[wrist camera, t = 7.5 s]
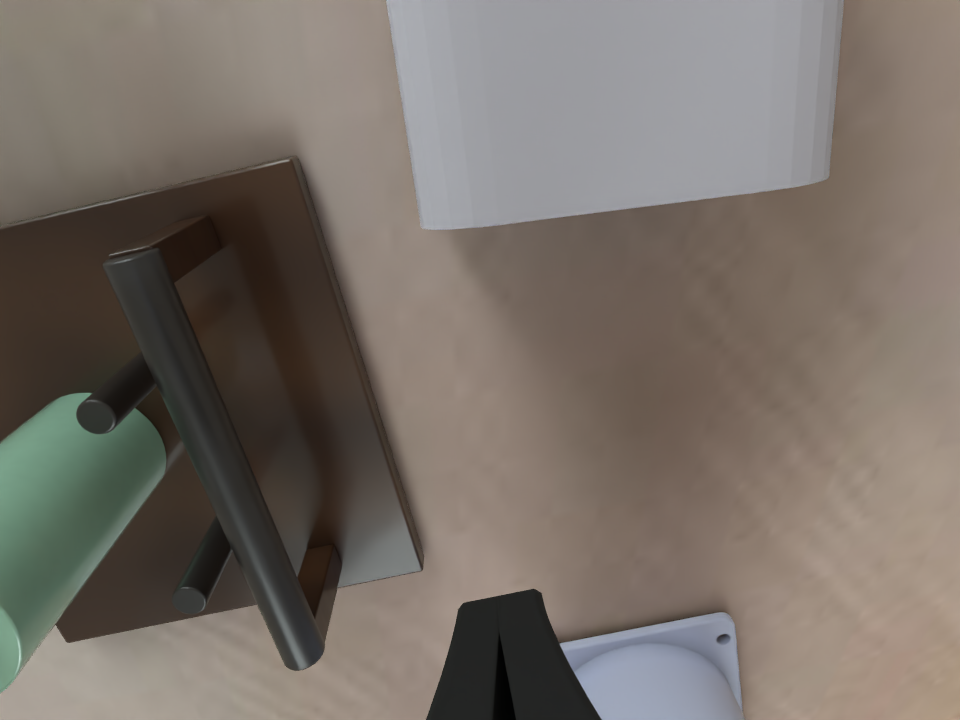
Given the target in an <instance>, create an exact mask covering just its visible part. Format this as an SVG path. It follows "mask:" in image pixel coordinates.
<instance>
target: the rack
mask: <svg viewBox="0 0 960 720" xmlns="http://www.w3.org/2000/svg"><path fill="white" fill-rule="evenodd" d="M76 393H92V394H91V395H90V396H89V397H87V398H86V399H85V400H84V401H83V402H82V403H81V404H80V405H79V406H78V408H77V411H76V418H77V421H78V423H79V424H80V425H81V427H82V428H84V429H85V430H86V431H88V432H90V433H93V434H106V433H109V432H111V431H112V430H114V429H115V428H116V427H117V426H118V425H119V424H120V423H121V422H122V420H123V419H124V418H125V417H126V416H127V415H128V414H129V413H130V412H131V411H132V410H133V409H134V408H136V409H137V410H139V411H140V412H141V413H142V414H143V415H145V416H146V417H147V418H148V419H149V420H150V422H151V423H152V424H153V425H154V426H155V428H156V429H157V431H158V432H159V434H160V436H161V438H162V441H163V443H164V446H165V451H166V469H165V472H164V475H163V478H162V480H161V482H160V483H159V485H158V486H157V487H156V489H155V490H154V492H153V493H152V494H151V496H150V497H149V498H148V500H147V501H146V502H145V504H144V505H143V506H142V508H141V509H140V511H139V512H138V513H137V515H136V516H135V517H134V519H133V520H132V521H131V523H130V524H129V525H128V527H127V528H126V530H125V531H124V532H123V534H122V535H121V536H120V538H119V539H118V540H117V542H116V543H115V544H114V546H113V547H112V549H111V550H110V551H109V553H108V554H107V555H106V557H105V558H104V559H103V561H102V562H101V563H100V565H99V566H98V568H97V569H96V570H95V572H94V573H93V574H92V576H91V577H90V578H89V580H88V581H87V582H86V584H85V585H84V586H83V588H82V589H81V591H80V592H79V593H78V595H77V596H76V597H75V599H74V600H73V601H72V603H71V604H70V605H69V607H68V608H67V610H66V611H65V612H64V614H63V615H62V616H61V618H60V619H59V620H58V622H57V623H56V624H55V625H56V626H57V628H58V629H59V631H60V633H61V634H62V636H63V637H64V639H65V641H66V642H67V643H70V642H75V641H80V640H85V639H90V638H95V637H100V636H105V635H110V634H114V633H119V632H124V631H129V630H134V629H139V628H144V627H149V626H154V625H159V624H164V623H169V622H174V621H178V620H183V619H188V618H193V617H198V616H203V615H208V614H213V613H218V612H223V611H228V610H233V609H238V608H242V607H247V606H252V605H258V608H259V610H260V612H261V614H262V616H263V618H264V621H265V623H266V625H267V627H268V629H269V632H270V634H271V636H272V638H273V640H274V642H275V645H276V647H277V649H278V651H279V653H280V656H281V658H282V660H283V662H284V664H285V666H286V667H287V668H289V669H291V670H294V671H299V670H304V669H306V668H309V667H310V666H312V665H314V664H315V663H316V662H317V661H318V660H319V659H320V658H321V656H322V655H323V652H324V648H325V639H326V635H327V631H328V626H329V622H330V618H331V613H332V609H333V605H334V600H335V596H336V591H337V588H341V587H346V586H351V585H356V584H361V583H366V582H370V581H375V580H380V579H385V578H390V577H395V576H400V575H405V574H410V573H415V572H420V571H422V570H423V564H424V555H423V551H422V548H421V545H420V542H419V539H418V536H417V532H416V529H415V526H414V523H413V520H412V517H411V513H410V510H409V507H408V504H407V501H406V498H405V494H404V491H403V488H402V485H401V482H400V479H399V476H398V472H397V469H396V466H395V463H394V460H393V457H392V453H391V450H390V447H389V444H388V441H387V438H386V434H385V431H384V428H383V425H382V422H381V419H380V415H379V412H378V409H377V406H376V403H375V400H374V396H373V393H372V390H371V387H370V384H369V381H368V378H367V374H366V371H365V368H364V365H363V362H362V359H361V355H360V352H359V349H358V346H357V343H356V340H355V336H354V333H353V330H352V327H351V324H350V321H349V317H348V314H347V311H346V308H345V305H344V302H343V299H342V295H341V292H340V289H339V286H338V283H337V280H336V276H335V273H334V270H333V267H332V264H331V261H330V257H329V254H328V251H327V248H326V245H325V242H324V238H323V235H322V232H321V229H320V226H319V223H318V219H317V216H316V213H315V210H314V207H313V204H312V201H311V197H310V194H309V191H308V188H307V185H306V182H305V178H304V175H303V172H302V169H301V166H300V163H299V159H298V158H297V156H292V157H287V158H283V159H279V160H275V161H271V162H266V163H262V164H258V165H254V166H249V167H245V168H241V169H237V170H233V171H228V172H224V173H220V174H216V175H211V176H207V177H203V178H199V179H195V180H190V181H186V182H182V183H178V184H173V185H169V186H165V187H161V188H157V189H152V190H148V191H144V192H140V193H135V194H131V195H127V196H123V197H119V198H114V199H110V200H106V201H102V202H97V203H93V204H89V205H85V206H81V207H76V208H72V209H68V210H64V211H59V212H55V213H51V214H47V215H43V216H38V217H34V218H30V219H26V220H21V221H17V222H13V223H9V224H5V225H0V441H2V440H3V439H4V438H6V437H7V436H8V435H9V434H11V433H12V432H13V431H14V430H16V429H17V428H18V427H20V426H21V425H22V424H23V423H25V422H26V421H27V420H28V419H30V418H31V417H32V416H34V415H35V414H36V413H37V412H39V411H40V410H41V409H42V408H44V407H45V406H46V405H48V404H49V403H50V402H52V401H54V400H55V399H58V398H60V397H62V396H66V395H70V394H76Z"/></svg>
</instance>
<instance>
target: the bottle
mask: <svg viewBox="0 0 960 720" xmlns="http://www.w3.org/2000/svg"><path fill="white" fill-rule="evenodd" d="M91 394H92V393H76V394H70V395H66V396H62V397H60V398H58V399H55V400H54V401H52V402H50V403H49V404H48V405H46V406H45V407H44V408H42V409H41V410H40V411H39V412H37V413H36V414H35V415H34V416H32V417H31V418H30V419H28V420H27V421H26V422H25V423H23V424H22V425H21V426H20V427H18V428H17V429H16V430H14V431H13V432H12V433H11V434H9V435H8V436H7V437H6V438H4V439H3V440H2V441H0V693H1V692H3V691H4V690H5V689H7V688H8V687H9V686H10V685H11V684H12V683H13V681H14V680H15V679H16V677H17V676H18V675H19V673H20V672H21V671H22V669H23V668H24V666H25V665H26V664H27V662H28V661H29V660H30V658H31V657H32V656H33V654H34V653H35V652H36V650H37V649H38V648H39V646H40V645H41V643H42V642H43V641H44V639H45V638H46V637H47V635H48V634H49V633H50V631H51V630H52V629H53V627H54V626H55V624H56V623H57V622H58V620H59V619H60V618H61V616H62V615H63V614H64V612H65V611H66V610H67V608H68V607H69V605H70V604H71V603H72V601H73V600H74V599H75V597H76V596H77V595H78V593H79V592H80V591H81V589H82V588H83V586H84V585H85V584H86V582H87V581H88V580H89V578H90V577H91V576H92V574H93V573H94V572H95V570H96V569H97V568H98V566H99V565H100V563H101V562H102V561H103V559H104V558H105V557H106V555H107V554H108V553H109V551H110V550H111V549H112V547H113V546H114V544H115V543H116V542H117V540H118V539H119V538H120V536H121V535H122V534H123V532H124V531H125V530H126V528H127V527H128V525H129V524H130V523H131V521H132V520H133V519H134V517H135V516H136V515H137V513H138V512H139V511H140V509H141V508H142V506H143V505H144V504H145V502H146V501H147V500H148V498H149V497H150V496H151V494H152V493H153V492H154V490H155V489H156V487H157V486H158V485H159V483H160V482H161V480H162V478H163V475H164V472H165V469H166V451H165V446H164V443H163V441H162V438H161V436H160V434H159V432H158V431H157V429H156V428H155V426H154V425H153V424H152V423H151V422H150V420H149V419H148V418H147V417H146V416H145V415H143V414H142V413H141V412H140V411H139V410H137V409H136V408H134V409H133V410H132V411H131V412H130V413H129V414H128V415H127V416H126V417H125V418H124V419H123V420H122V422H121V423H120V424H119V425H118V426H117V427H116V428H115V429H114V430H112V431H111V432H109V433H106V434H93V433H90V432H88V431H86V430H85V429H84V428H82V427H81V425H80V424H79V423H78V421H77V418H76V411H77V408H78V406H79V405H80V404H81V403H82V402H83V401H84V400H85V399H86V398H87V397H89V396H90V395H91Z"/></svg>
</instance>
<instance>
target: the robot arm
mask: <svg viewBox="0 0 960 720" xmlns="http://www.w3.org/2000/svg"><path fill="white" fill-rule="evenodd" d="M722 634H724V635H722ZM719 635H722V636H720V637H719ZM426 720H745V717H744V715H743V709H742V697H741V686H740V674H739V663H738V652H737V640H736V629H735V624H734V622H733V620H732V618H731V616H730V615H729V614H727V613H724V612H718V613H713V614H707V615H702V616H697V617H692V618H687V619H682V620H677V621H672V622H667V623H661V624H656V625H651V626H646V627H641V628H636V629H631V630H626V631H621V632H615V633H610V634H605V635H600V636H595V637H590V638H585V639H580V640H575V641H569V642H564V643H559V642H558V640H557V638H556V635H555V633H554V631H553V628H552V626H551V624H550V621H549V618H548V616H547V613H546V609H545V606H544V602H543V597H542V593H540V592H539V591H537V590H535V589H531V590H526V591H521V592H516V593H511V594H506V595H501V596H496V597H491V598H486V599H481V600H476V601H471V602H466V603H463V604H462V605H461V607H460V608H459V609H458V614H457V619H456V624H455V628H454V632H453V636H452V640H451V644H450V648H449V651H448V655H447V658H446V661H445V665H444V668H443V671H442V675H441V678H440V681H439V684H438V687H437V690H436V693H435V695H434V698H433V701H432V704H431V707H430V710H429V713H428V716H427V719H426Z"/></svg>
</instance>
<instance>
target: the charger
mask: <svg viewBox="0 0 960 720" xmlns="http://www.w3.org/2000/svg"><path fill="white" fill-rule="evenodd" d="M386 3H387V9H388V16H389V22H390V29H391V35H392V42H393V48H394V55H395V61H396V68H397V74H398V81H399V87H400V94H401V100H402V107H403V113H404V120H405V126H406V133H407V139H408V146H409V152H410V159H411V165H412V172H413V178H414V185H415V191H416V198H417V204H418V211H419V217H420V224H421V228H423V229H429V230H451V229H465V228H477V227H486V226H495V225H504V224H512V223H520V222H527V221H535V220H543V219H551V218H559V217H567V216H575V215H583V214H591V213H599V212H607V211H614V210H622V209H630V208H638V207H646V206H654V205H662V204H670V203H678V202H686V201H694V200H702V199H709V198H717V197H725V196H733V195H741V194H749V193H757V192H765V191H772V190H779V189H786V188H792V187H798V186H803V185H809V184H813V183H817V182H821V181H824V180H826V179H828V178H829V170H830V158H831V146H832V135H833V123H834V112H835V100H836V88H837V77H838V65H839V53H840V42H841V30H842V18H843V7H844V0H386Z"/></svg>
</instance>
